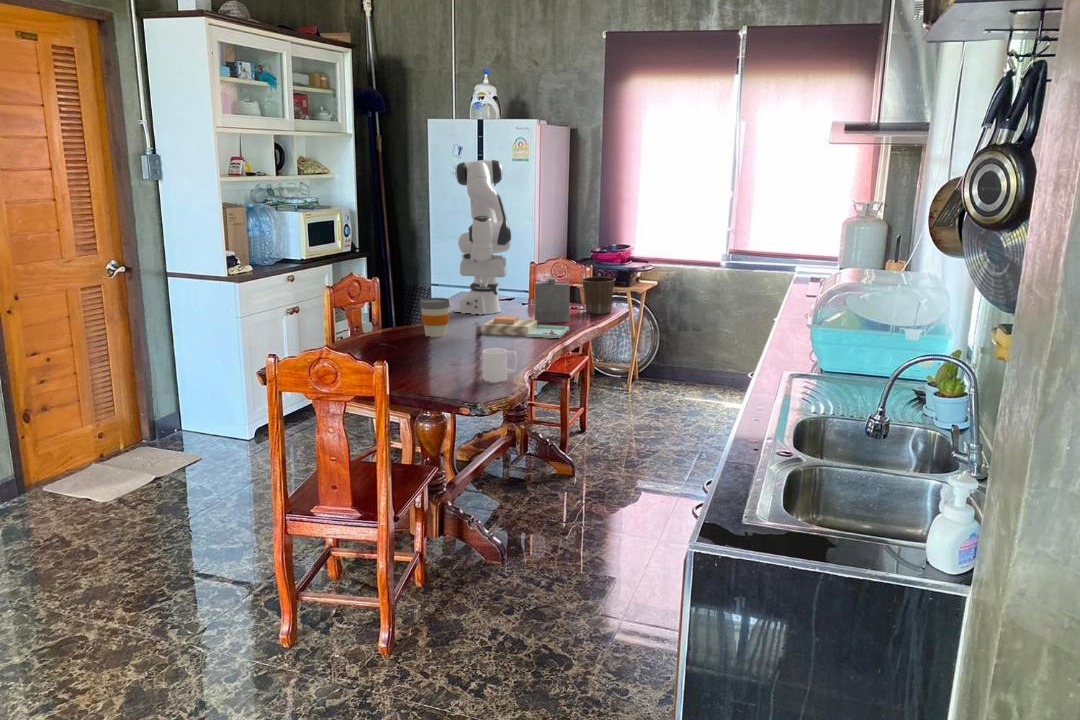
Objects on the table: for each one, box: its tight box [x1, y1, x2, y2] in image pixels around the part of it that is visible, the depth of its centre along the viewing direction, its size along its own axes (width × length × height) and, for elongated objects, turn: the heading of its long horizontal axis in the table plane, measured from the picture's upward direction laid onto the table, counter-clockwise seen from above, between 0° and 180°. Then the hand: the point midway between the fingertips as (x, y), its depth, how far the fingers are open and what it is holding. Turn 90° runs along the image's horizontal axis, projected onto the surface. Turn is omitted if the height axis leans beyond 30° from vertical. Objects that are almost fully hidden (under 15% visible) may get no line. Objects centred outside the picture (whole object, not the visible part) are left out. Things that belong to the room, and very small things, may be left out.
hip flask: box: [534, 277, 571, 323], centre depth 372 cm, size 16×4×20 cm, turn 81°
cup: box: [482, 347, 519, 383], centre depth 280 cm, size 8×12×10 cm
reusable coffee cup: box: [419, 297, 451, 338], centre depth 347 cm, size 13×13×15 cm
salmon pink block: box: [494, 315, 519, 324], centre depth 353 cm, size 9×6×2 cm, turn 74°
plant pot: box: [581, 276, 616, 315], centre depth 393 cm, size 16×16×16 cm
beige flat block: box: [482, 317, 538, 337], centre depth 354 cm, size 20×14×4 cm
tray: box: [526, 324, 570, 339], centre depth 350 cm, size 14×18×2 cm
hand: (483, 286), depth 353 cm, fingers closed
